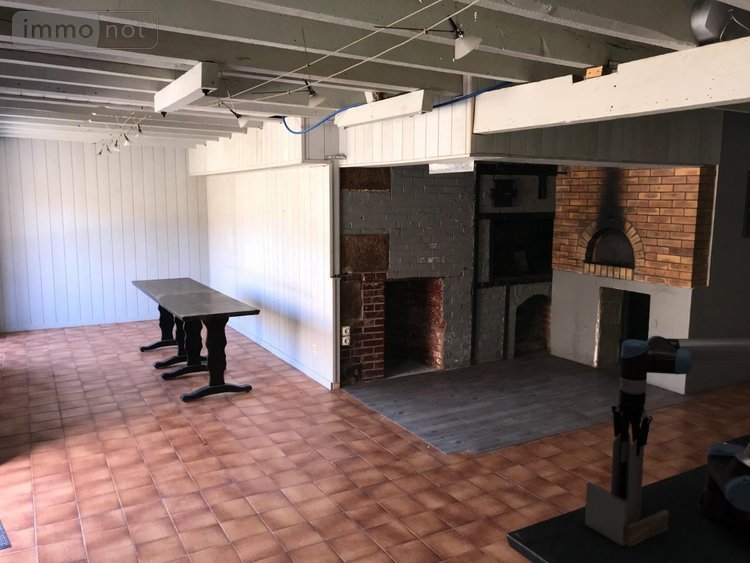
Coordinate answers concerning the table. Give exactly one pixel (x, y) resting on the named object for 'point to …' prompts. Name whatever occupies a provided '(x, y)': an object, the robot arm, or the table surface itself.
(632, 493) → the brochure
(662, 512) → the slot rails
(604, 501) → the bookend
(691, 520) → the table surface
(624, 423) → the robot arm
